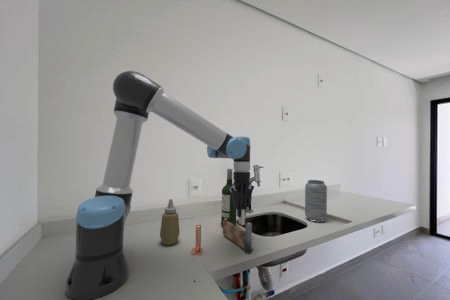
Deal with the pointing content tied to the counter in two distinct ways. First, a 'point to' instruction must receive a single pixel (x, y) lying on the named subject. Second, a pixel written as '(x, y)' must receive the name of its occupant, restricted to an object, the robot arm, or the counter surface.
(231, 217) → the wine bottle
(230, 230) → the gate
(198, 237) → the gate posts
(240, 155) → the robot arm
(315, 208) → the vase
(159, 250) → the counter surface
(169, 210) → the squeeze bottle
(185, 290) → the counter surface
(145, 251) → the counter surface
